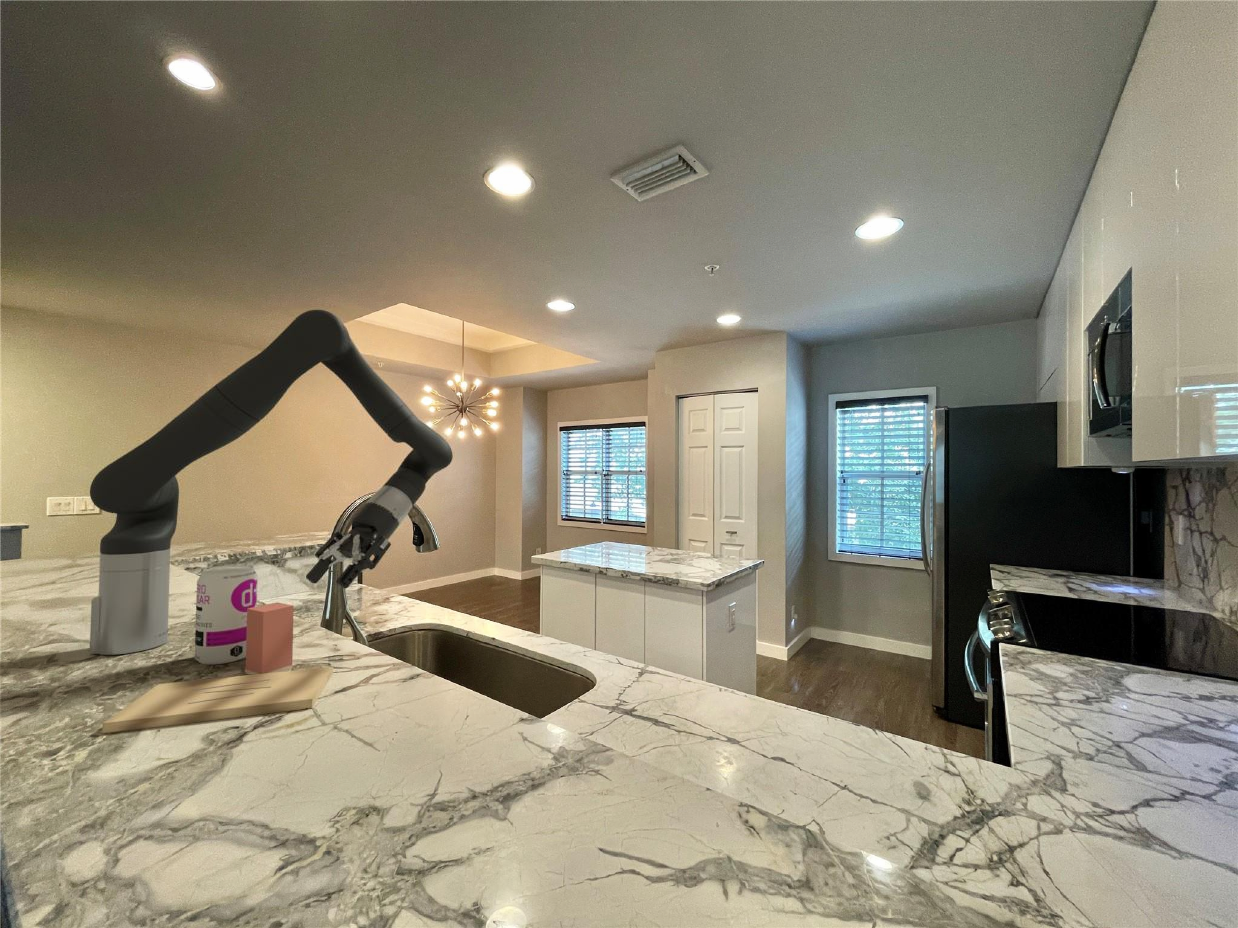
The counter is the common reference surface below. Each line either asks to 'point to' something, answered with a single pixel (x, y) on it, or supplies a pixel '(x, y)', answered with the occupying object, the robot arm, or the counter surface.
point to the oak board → (221, 699)
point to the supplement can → (223, 613)
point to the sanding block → (269, 638)
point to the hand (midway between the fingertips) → (325, 583)
